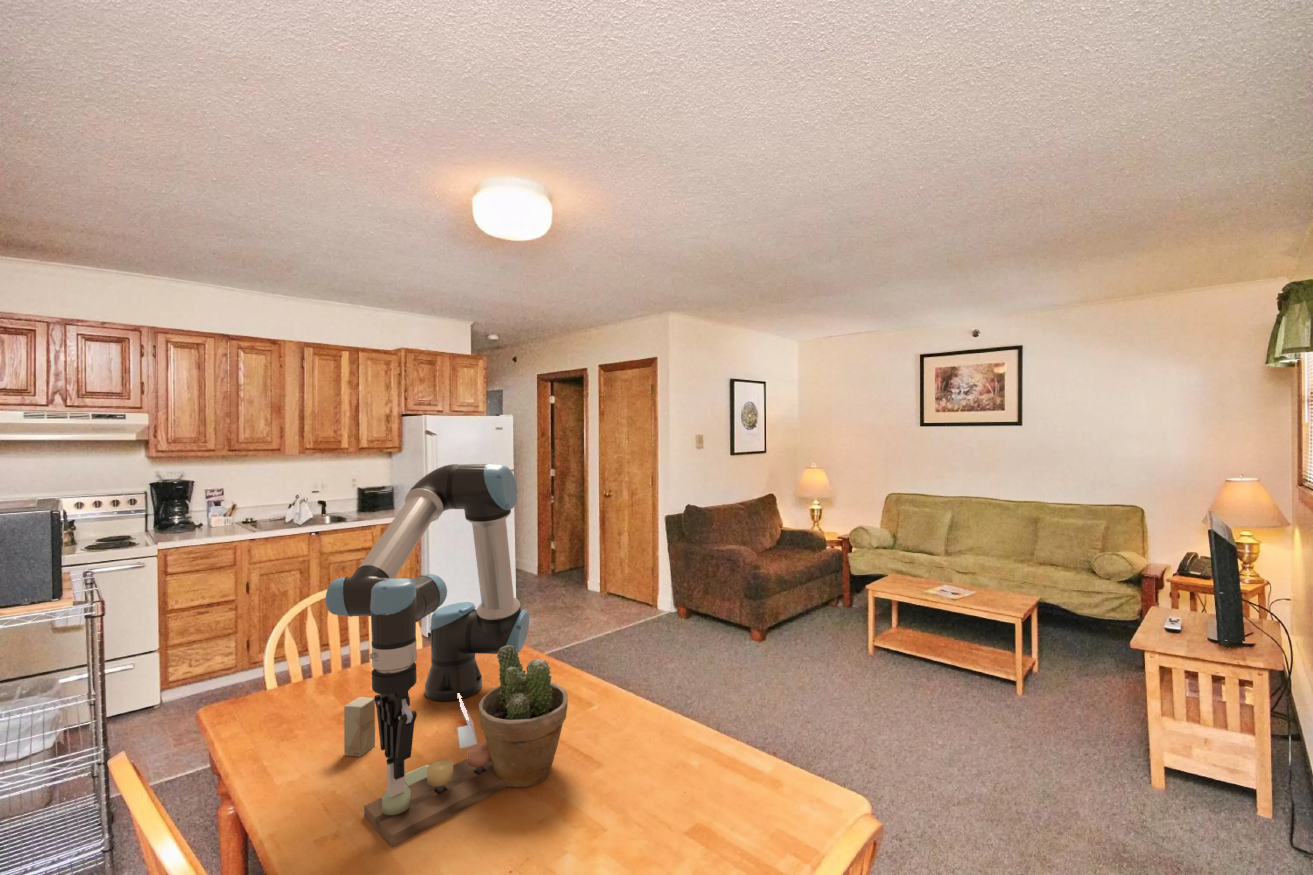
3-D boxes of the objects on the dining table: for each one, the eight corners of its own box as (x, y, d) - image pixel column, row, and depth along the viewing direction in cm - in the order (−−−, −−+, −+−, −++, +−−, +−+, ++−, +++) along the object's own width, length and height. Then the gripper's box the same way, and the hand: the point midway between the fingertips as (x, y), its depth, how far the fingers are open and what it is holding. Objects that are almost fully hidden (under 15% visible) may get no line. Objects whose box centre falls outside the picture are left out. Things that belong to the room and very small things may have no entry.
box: (360, 757, 129) (359, 707, 129) (343, 755, 130) (342, 706, 130) (376, 744, 134) (375, 697, 134) (360, 742, 135) (359, 695, 135)
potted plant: (582, 756, 128) (583, 644, 128) (539, 809, 111) (540, 679, 110) (510, 741, 134) (511, 634, 134) (458, 788, 117) (459, 665, 116)
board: (480, 761, 127) (479, 752, 127) (510, 784, 119) (510, 774, 118) (364, 816, 109) (364, 805, 109) (391, 846, 101) (391, 835, 101)
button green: (404, 806, 111) (403, 782, 111) (415, 817, 108) (415, 792, 108) (378, 818, 107) (377, 794, 107) (389, 830, 104) (388, 805, 104)
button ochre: (446, 779, 117) (445, 756, 117) (458, 789, 114) (457, 766, 114) (423, 790, 114) (422, 767, 114) (434, 801, 110) (434, 777, 110)
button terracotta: (484, 761, 123) (483, 740, 123) (496, 770, 120) (496, 748, 120) (463, 771, 120) (462, 749, 120) (475, 780, 117) (474, 758, 117)
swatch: (427, 766, 125) (427, 762, 125) (442, 779, 120) (442, 775, 120) (394, 780, 120) (394, 777, 120) (409, 795, 115) (409, 791, 115)
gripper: (359, 662, 109) (361, 787, 109) (388, 681, 100) (390, 818, 100) (399, 650, 114) (401, 770, 115) (430, 668, 106) (432, 798, 106)
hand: (396, 792), depth 107 cm, fingers closed
